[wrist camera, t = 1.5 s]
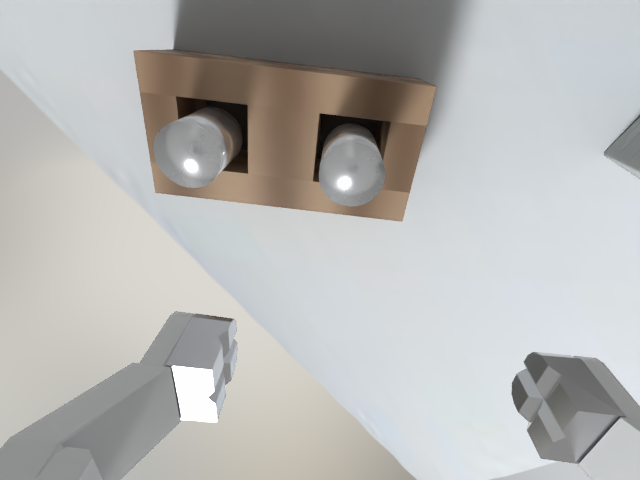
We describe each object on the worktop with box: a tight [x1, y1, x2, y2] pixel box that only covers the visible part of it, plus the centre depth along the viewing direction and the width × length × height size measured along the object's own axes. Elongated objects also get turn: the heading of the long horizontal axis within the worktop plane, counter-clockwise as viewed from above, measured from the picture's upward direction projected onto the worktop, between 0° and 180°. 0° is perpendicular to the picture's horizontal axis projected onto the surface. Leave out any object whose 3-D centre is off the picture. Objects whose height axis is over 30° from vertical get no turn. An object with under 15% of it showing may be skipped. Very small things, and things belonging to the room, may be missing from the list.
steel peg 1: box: [153, 107, 243, 188], centre depth 23 cm, size 4×4×6 cm
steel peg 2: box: [319, 123, 385, 206], centre depth 23 cm, size 4×4×6 cm
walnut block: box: [134, 50, 436, 221], centre depth 27 cm, size 20×10×6 cm, turn 85°
